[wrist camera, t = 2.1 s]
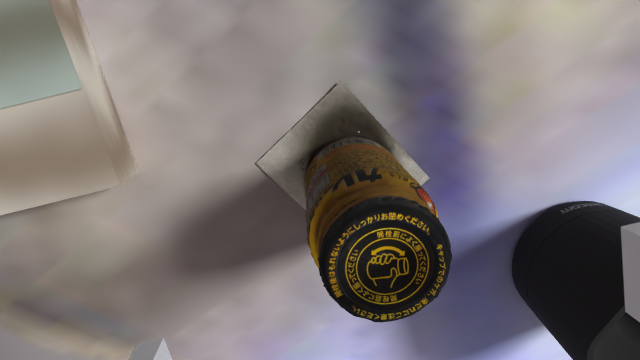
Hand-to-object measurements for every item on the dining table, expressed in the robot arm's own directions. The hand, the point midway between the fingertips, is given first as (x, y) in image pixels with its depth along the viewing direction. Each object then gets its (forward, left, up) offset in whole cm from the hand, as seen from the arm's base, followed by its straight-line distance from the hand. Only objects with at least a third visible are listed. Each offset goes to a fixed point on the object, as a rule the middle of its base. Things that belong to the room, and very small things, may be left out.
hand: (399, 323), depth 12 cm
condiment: (0, 0, -17) cm, 17 cm away
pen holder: (+10, +14, -17) cm, 24 cm away
